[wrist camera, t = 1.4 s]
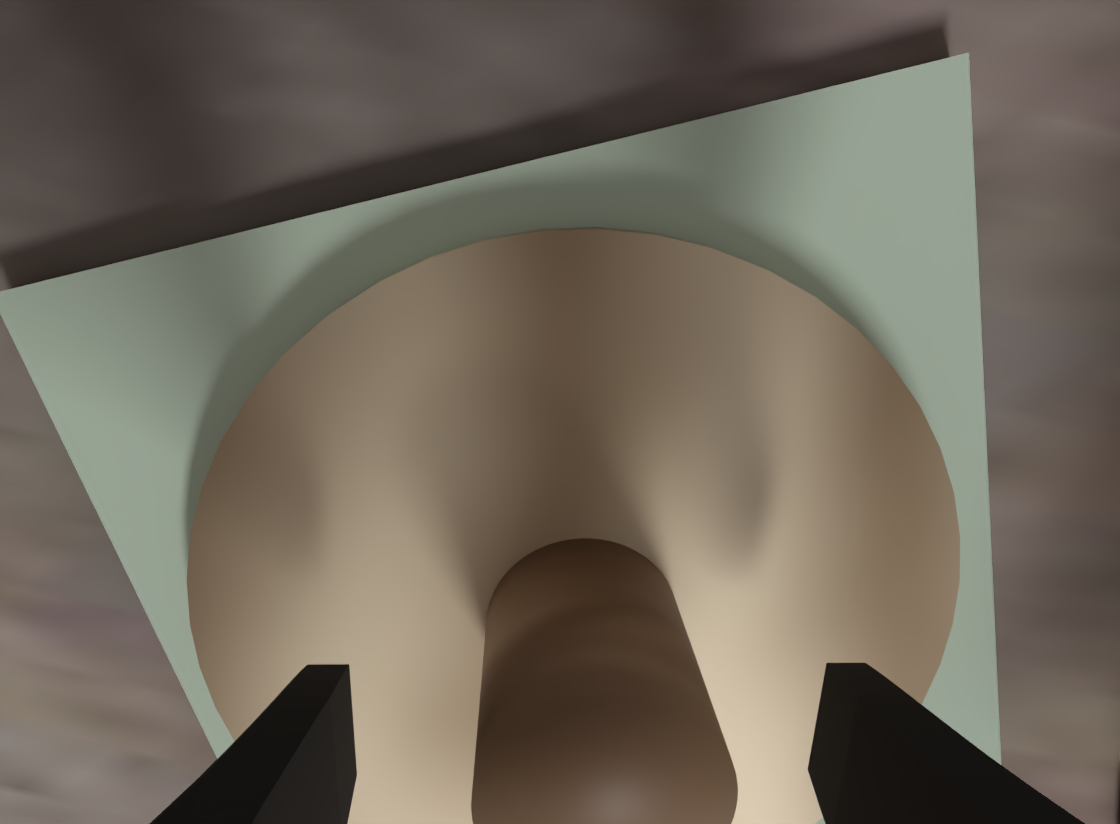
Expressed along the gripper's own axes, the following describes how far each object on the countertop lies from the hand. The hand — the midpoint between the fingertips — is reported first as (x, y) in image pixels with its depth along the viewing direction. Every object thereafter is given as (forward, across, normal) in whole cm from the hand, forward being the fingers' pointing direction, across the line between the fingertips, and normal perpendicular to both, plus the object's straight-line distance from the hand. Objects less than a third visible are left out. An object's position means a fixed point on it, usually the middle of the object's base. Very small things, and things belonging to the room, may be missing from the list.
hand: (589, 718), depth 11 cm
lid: (+3, 0, 0) cm, 3 cm away
